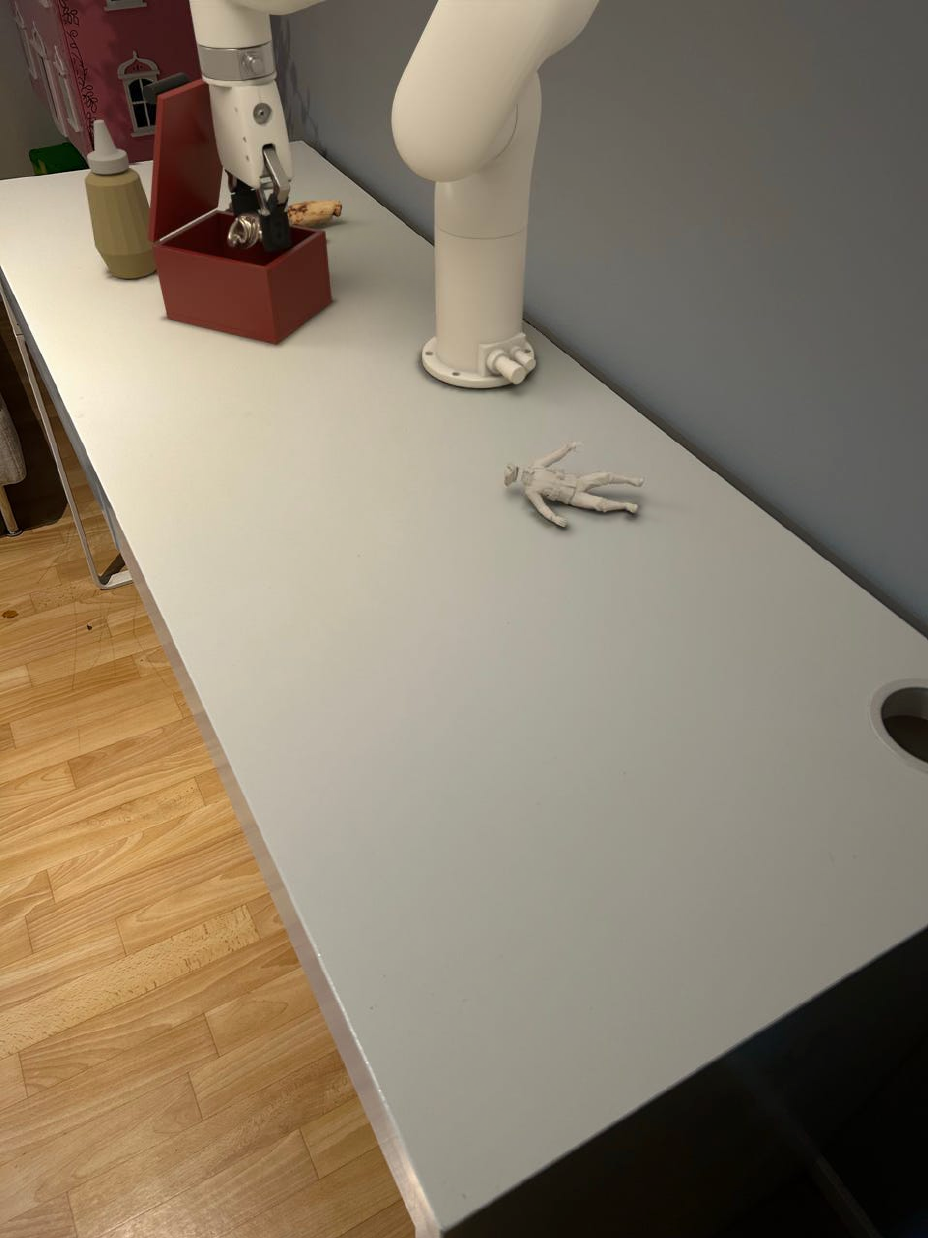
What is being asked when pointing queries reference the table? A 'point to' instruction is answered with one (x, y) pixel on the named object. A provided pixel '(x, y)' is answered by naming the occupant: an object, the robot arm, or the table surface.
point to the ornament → (246, 230)
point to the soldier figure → (567, 485)
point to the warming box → (242, 280)
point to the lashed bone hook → (310, 212)
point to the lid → (182, 155)
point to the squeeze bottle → (118, 209)
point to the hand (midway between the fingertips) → (263, 236)
